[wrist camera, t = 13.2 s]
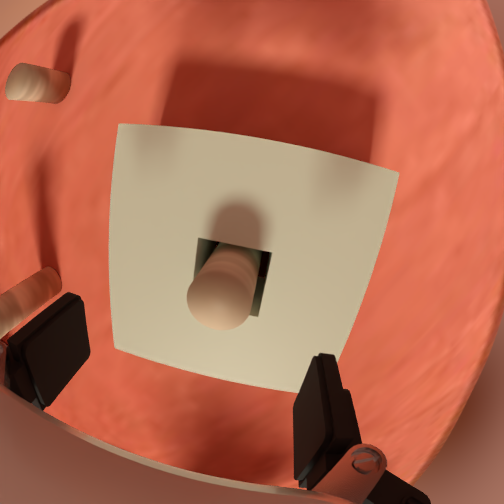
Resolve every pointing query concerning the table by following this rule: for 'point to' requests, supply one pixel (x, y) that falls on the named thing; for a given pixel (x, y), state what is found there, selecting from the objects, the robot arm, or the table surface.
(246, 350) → the square hole block
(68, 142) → the table surface
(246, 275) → the dowel 9cm
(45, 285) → the dowel 13cm
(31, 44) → the table surface
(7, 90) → the dowel 6cm
